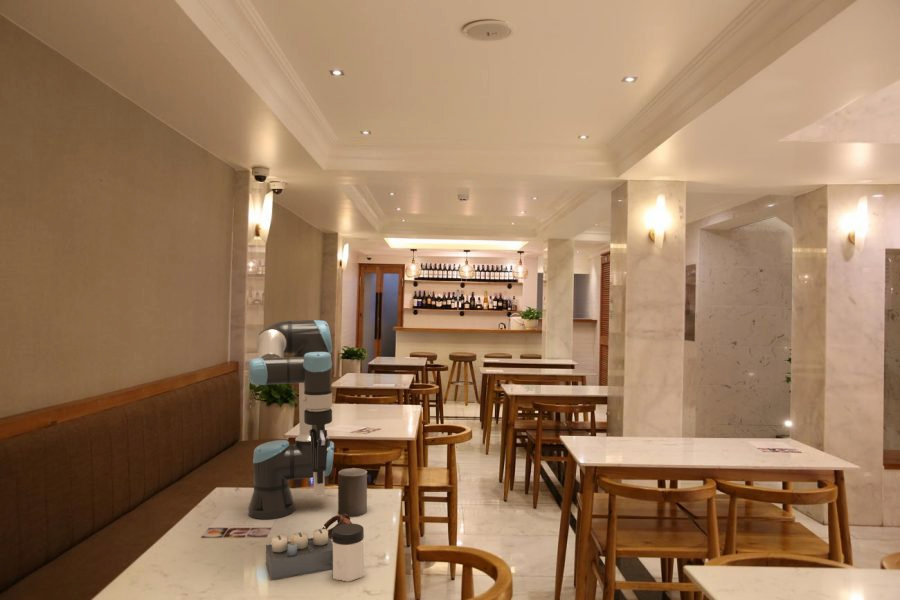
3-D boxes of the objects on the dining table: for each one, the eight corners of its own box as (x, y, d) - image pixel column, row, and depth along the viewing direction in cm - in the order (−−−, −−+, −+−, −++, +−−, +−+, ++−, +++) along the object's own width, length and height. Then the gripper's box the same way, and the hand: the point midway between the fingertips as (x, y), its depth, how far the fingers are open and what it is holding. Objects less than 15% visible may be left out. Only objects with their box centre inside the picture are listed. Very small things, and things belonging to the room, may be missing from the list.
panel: (266, 563, 172) (265, 545, 172) (327, 552, 178) (327, 535, 178) (271, 580, 162) (271, 560, 162) (336, 568, 168) (336, 549, 168)
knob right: (312, 559, 174) (311, 529, 174) (326, 556, 175) (326, 527, 175) (315, 564, 170) (314, 534, 170) (329, 562, 172) (329, 532, 171)
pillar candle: (338, 518, 206) (339, 472, 206) (337, 508, 215) (337, 464, 215) (368, 516, 208) (368, 471, 208) (365, 506, 218) (365, 463, 218)
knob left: (271, 566, 169) (270, 536, 169) (286, 563, 171) (285, 533, 171) (273, 572, 166) (272, 541, 166) (288, 569, 167) (288, 538, 167)
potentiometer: (287, 553, 166) (286, 536, 166) (296, 551, 167) (296, 534, 167) (288, 556, 164) (288, 539, 164) (297, 555, 165) (297, 537, 165)
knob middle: (291, 562, 171) (291, 533, 171) (306, 560, 173) (306, 530, 173) (294, 568, 168) (294, 538, 168) (309, 565, 169) (309, 535, 169)
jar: (325, 578, 162) (324, 532, 162) (341, 565, 170) (341, 521, 170) (355, 583, 159) (354, 536, 159) (371, 570, 167) (370, 525, 166)
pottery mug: (356, 547, 183) (342, 525, 182) (329, 560, 185) (314, 538, 183) (363, 522, 195) (350, 501, 193) (337, 534, 196) (324, 514, 195)
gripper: (300, 405, 177) (301, 489, 177) (308, 414, 165) (310, 503, 165) (326, 403, 180) (327, 485, 180) (337, 411, 168) (338, 499, 168)
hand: (319, 493), depth 173 cm, fingers closed
